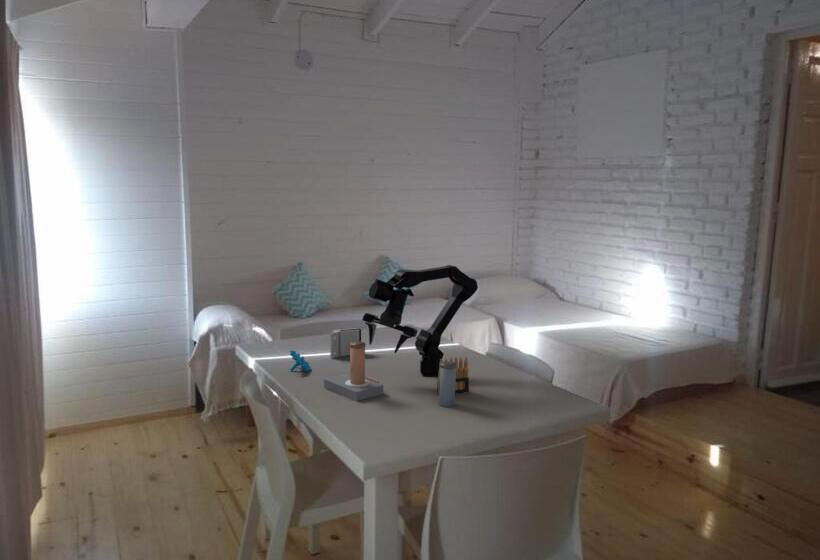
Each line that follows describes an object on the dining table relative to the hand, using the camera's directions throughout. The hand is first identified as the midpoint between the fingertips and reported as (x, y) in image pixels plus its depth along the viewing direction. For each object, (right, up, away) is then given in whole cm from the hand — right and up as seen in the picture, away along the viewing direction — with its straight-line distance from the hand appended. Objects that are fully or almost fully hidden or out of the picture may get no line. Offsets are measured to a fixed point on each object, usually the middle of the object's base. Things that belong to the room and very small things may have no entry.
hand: (382, 348), depth 230 cm
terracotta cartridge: (-8, -10, -12) cm, 17 cm away
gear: (-30, -9, +13) cm, 34 cm away
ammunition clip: (+23, -14, -11) cm, 29 cm away
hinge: (-16, -6, +34) cm, 38 cm away
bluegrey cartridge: (+21, -15, -22) cm, 34 cm away
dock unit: (-9, -13, -10) cm, 19 cm away
